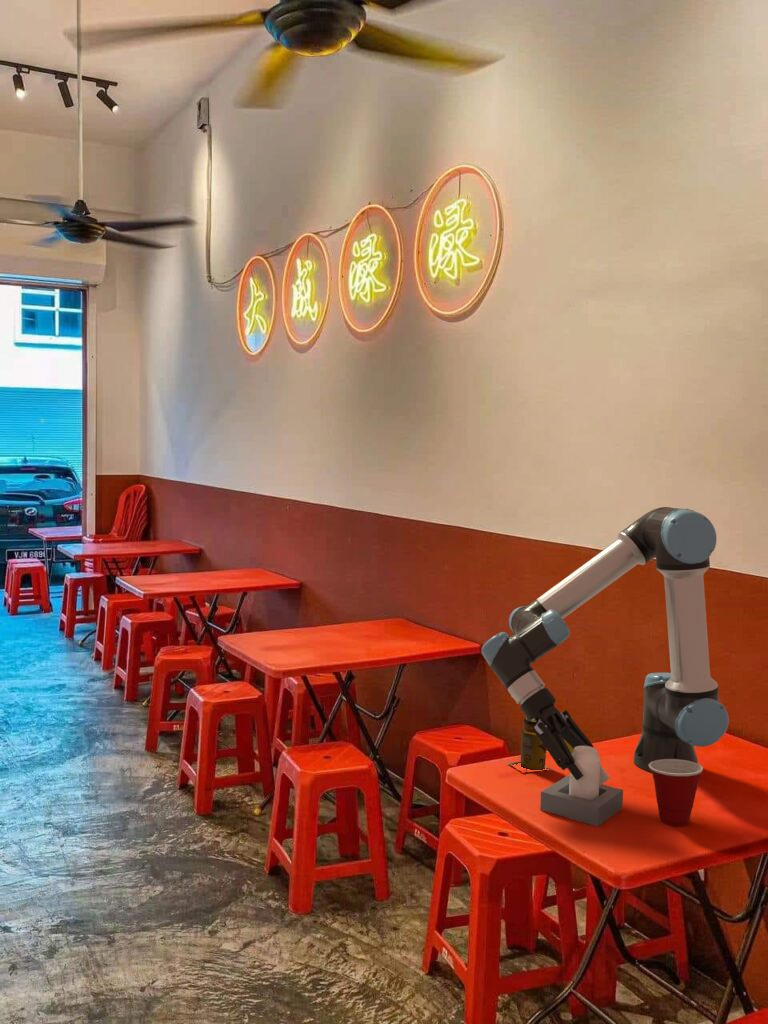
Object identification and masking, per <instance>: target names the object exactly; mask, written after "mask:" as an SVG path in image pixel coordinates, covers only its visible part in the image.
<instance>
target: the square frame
mask: <svg viewBox="0 0 768 1024" xmlns="http://www.w3.org/2000/svg"><path fill="white" fill-rule="evenodd" d="M569 782H570V775H566V776H564V777H563V778H561V779H560V780H558V781H557V782H554V783H553V784H551V785H550V786H548V787H546V788H544V789H543V790H541V791H540V808H539V810H540V809H541V810H540V811H542V810H544V811H543V812H545V811H547V812H546V813H549V812H550V813H549V814H552V813H554V814H553V815H556V814H557V815H556V816H559V815H560V817H562V816H564V817H563V818H566V819H569V818H570V820H574V821H577V822H580V823H583V822H584V824H587V825H590V826H593V825H594V826H593V827H597V828H598V827H599V826H601V825H602V824H603V823H605V822H606V821H608V819H610V818H611V817H613V816H614V815H615V814H617V813H618V812H619V811H621V810H622V809H623V806H624V803H623V802H624V789H621V788H618V787H615V786H610V785H606V784H602V785H601V786H600V785H599V797H597V798H596V799H594V800H593V801H591V800H587V799H583V798H580V797H576V796H572V795H569Z"/></svg>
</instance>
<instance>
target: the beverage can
mask: <svg viewBox="0 0 768 1024" xmlns="http://www.w3.org/2000/svg"><path fill="white" fill-rule="evenodd" d="M593 747H594V746H593ZM593 747H590V746H577V747H575V748H574V751H573V753H572V756H573V758H574V760H575V762H576V761H578V762H579V763H580V765H581V766H582V767H583V768H584V770H585V771H586V772H587V774H588V775H589V776H590V778H591V779H592V781H593V782H594V783H595V785H596V786H597V788H596V789H594V790H593V791H591V792H590V793H589V794H586V793H585V792H584V790H583V789H582V787H581V786H580V785H579V783H578V782H577V781H576V779H575V778H574V776H573V775H572V774H571V772H570V771H569V776H570V782H569V795H572V796H576V797H580V798H583V799H587V800H591V801H593V800H594V799H596V798H597V797H599V779H600V765H601V757H600V755H599V753H598V749H597V748H595V747H594V748H593ZM575 762H574V763H575Z"/></svg>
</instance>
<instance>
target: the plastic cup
mask: <svg viewBox="0 0 768 1024" xmlns="http://www.w3.org/2000/svg"><path fill="white" fill-rule="evenodd" d="M649 768H650V769H651V771H652V772H651V774H652V779H653V783H654V791H655V798H656V803H657V810H658V816H659V820H660V822H662V823H663V824H666V825H668V826H673V827H685V826H688V824H689V822H690V819H691V815H692V811H693V808H694V803H695V799H696V793H697V791H698V790H697V788H698V785H699V783H700V781H699V780H700V777H701V774H702V772H703V770H704V767H703V766H702V765H701V764H700V763H698V764H697V763H695V762H691V761H687V760H679V759H661V760H655V761H653V762H650V763H649Z"/></svg>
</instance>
